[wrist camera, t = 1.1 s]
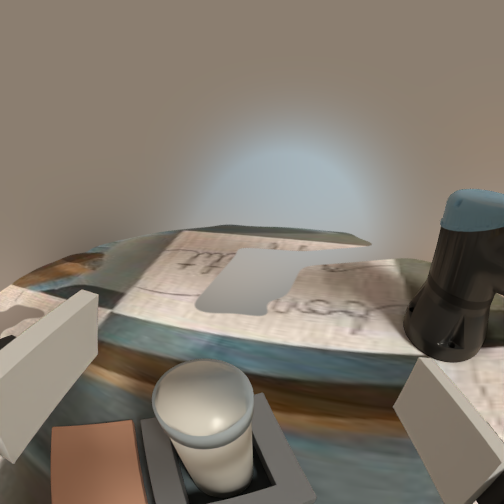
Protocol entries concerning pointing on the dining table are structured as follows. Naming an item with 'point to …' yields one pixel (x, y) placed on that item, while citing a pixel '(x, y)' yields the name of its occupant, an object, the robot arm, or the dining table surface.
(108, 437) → the rubber mat
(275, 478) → the frame
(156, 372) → the dining table surface
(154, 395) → the filter cartridge
